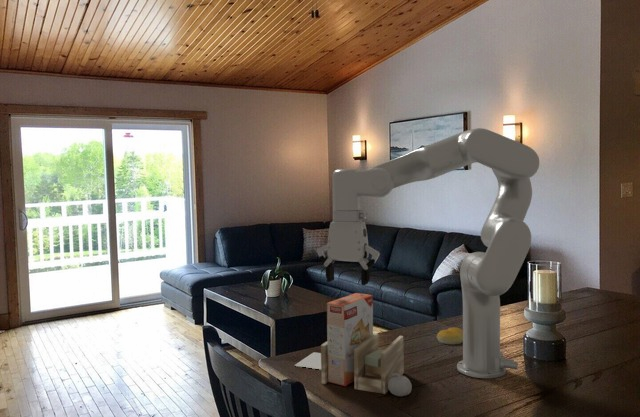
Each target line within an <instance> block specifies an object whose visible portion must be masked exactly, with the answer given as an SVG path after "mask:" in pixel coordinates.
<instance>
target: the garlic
mask: <svg viewBox="0 0 640 417" xmlns="http://www.w3.org/2000/svg"><path fill="white" fill-rule="evenodd" d="M395 375H396V376H395ZM392 376H393V377H391V378H390V380H389V382H388V389H389V390H388V391H389V392H390V393H391V394H392V395H394V396H396V397H405V396H408V395H410V393H411V392H412V389H413V388H412V387H413V385H412V383H411V381H410V379H409V378H408V377H407V376H406V375H403V374H402V375H399V374H398V373H394V374H392Z"/></svg>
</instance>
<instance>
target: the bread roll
mask: <svg viewBox="0 0 640 417" xmlns="http://www.w3.org/2000/svg"><path fill="white" fill-rule="evenodd" d="M436 339H437V341H438V342H439V343H440V344H444V345H460V344H463V329H461V328H459V327H456V326H455V327H454V326H453V327H448V328H447V329H442V330H439V332H438V333H437V334H436Z"/></svg>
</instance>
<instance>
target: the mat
mask: <svg viewBox="0 0 640 417" xmlns="http://www.w3.org/2000/svg"><path fill="white" fill-rule="evenodd" d="M293 366H294V367H295V366H296V367H297V368H302V367H306V368H305V369H308V368H312V369H311V370H315V369H319V370H318V371H321V352H312V353H310V354H309V355H308V356H306V357H305V358H303V359H301V360H300V361H299V362H297V363H295V364H294V365H293Z"/></svg>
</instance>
